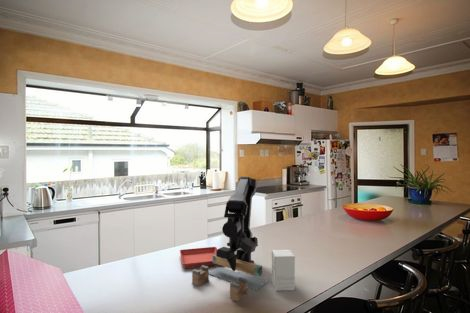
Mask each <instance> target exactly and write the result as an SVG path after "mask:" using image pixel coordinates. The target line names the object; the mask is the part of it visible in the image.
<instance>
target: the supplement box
mask: <svg viewBox="0 0 470 313" xmlns="http://www.w3.org/2000/svg"><path fill="white" fill-rule="evenodd" d="M295 258H296V256H295V255H294V253H293V252H292V250H291V249H271V283H272V285H273V288H274V290H275V291H277V292H278V291H279V292H280V291H295V289H296V288H295V287H296V286H295V285H296V283H295V281H296V280H295V279H296V276H295V275H296V274H295V273H296V272H295V271H296V270H295V269H296V268H295V267H296V266H295V265H296V262H295V261H296V259H295Z"/></svg>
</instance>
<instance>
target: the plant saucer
mask: <svg viewBox="0 0 470 313" xmlns="http://www.w3.org/2000/svg"><path fill="white" fill-rule="evenodd" d="M218 249H219V248H217V246H209V247H197V248H188V249H187V248H185V249H180V250H179V254H180V260H181V264H182V266H183V267H184V268H185V269H193V268H195V269H196V268H201V266H202V265H204V266H207V267H211V266H212V267H213V266H219V265H218V264H214V263H213V255H215V254H216V251H217V250H218Z"/></svg>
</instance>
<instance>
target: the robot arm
mask: <svg viewBox="0 0 470 313" xmlns="http://www.w3.org/2000/svg"><path fill="white" fill-rule="evenodd" d="M257 189H258V181H257V179H255V178H252V177H251V176H239V178H238V184H237V186H236V189H235V191H234V194H233V195H231V196H229V198H228V200H227V201H226V205H225V208H224V213H223V214H224V215H223V217H224V218H227V221H225V223H224V224H223V226H222V229H221V230H222V234H223V235H224V236H225V237H227V238H228V242H226V246H227V247H226V246H222V247H220V248H217V249H218V250H217V251H216V256H217V257H220V258H224V259H227V260H228V262H229V264H230V266H231V268H232V269H231V268H230V269H231V270H232V271H235V272H236V270H235V268H236V259H239V260H242V261H246V262H250V263H253V264H254V262H255V261H254V260H252V253H253V252H255V251H256V248H257V247H258V246H259V245H258V237H256V236H253V233H252V231H251V228H250V227H251V226H250V225H251V215H252V203H253V202H252V201H253V197H254V195H255V194H256V191H257Z"/></svg>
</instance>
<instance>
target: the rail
mask: <svg viewBox="0 0 470 313" xmlns="http://www.w3.org/2000/svg"><path fill="white" fill-rule="evenodd" d="M213 263H214V264H218V265H217V266H221V267H222V266H223V267H224V268H225V267H226V268H227V269H230V270H232V268H231V266H230V264H229V262H228V260H227V259H224V258H220V257H217V256H216V254H215V255H213ZM235 271H237V272H240V273H243V274H244V273H245V274H247V275H251V276H253V277H256V278H259V277H260V276H261V275H263V265H260V264H256V263H254V262H253V263H250V262H246V261H242V260H239V259H236V268H235Z"/></svg>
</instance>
